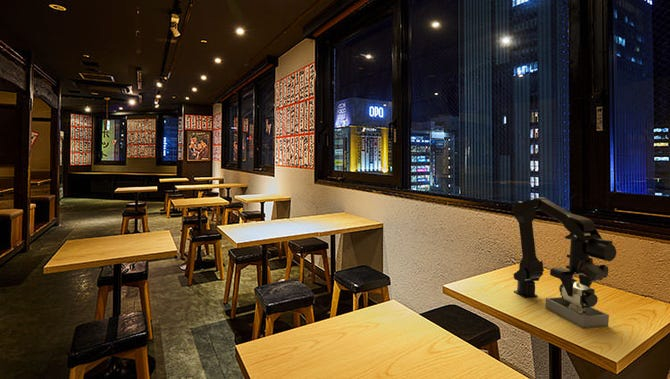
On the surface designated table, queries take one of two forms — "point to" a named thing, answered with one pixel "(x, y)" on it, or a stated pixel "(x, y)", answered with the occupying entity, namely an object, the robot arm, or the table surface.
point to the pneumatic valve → (579, 297)
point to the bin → (589, 321)
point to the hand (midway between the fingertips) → (576, 295)
